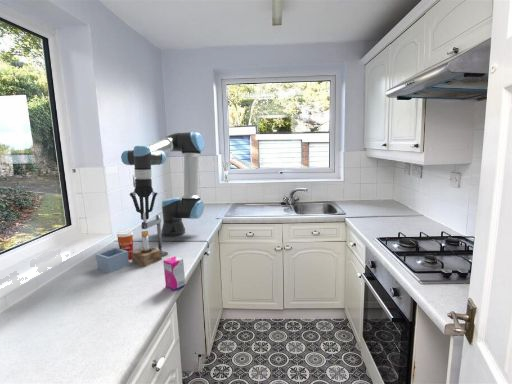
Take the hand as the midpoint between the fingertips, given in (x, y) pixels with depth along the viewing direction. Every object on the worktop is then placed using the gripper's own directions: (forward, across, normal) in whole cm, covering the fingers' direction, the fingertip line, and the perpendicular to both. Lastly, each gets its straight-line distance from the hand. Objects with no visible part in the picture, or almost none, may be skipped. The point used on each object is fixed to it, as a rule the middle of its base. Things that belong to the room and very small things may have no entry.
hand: (145, 225), depth 145 cm
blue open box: (+18, -14, -4) cm, 24 cm away
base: (+18, +6, +6) cm, 19 cm away
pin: (+18, 0, -1) cm, 18 cm away
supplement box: (+18, +16, -32) cm, 40 cm away
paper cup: (+18, -10, +5) cm, 22 cm away
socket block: (+18, 0, -1) cm, 18 cm away
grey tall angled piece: (+16, +4, +1) cm, 16 cm away
